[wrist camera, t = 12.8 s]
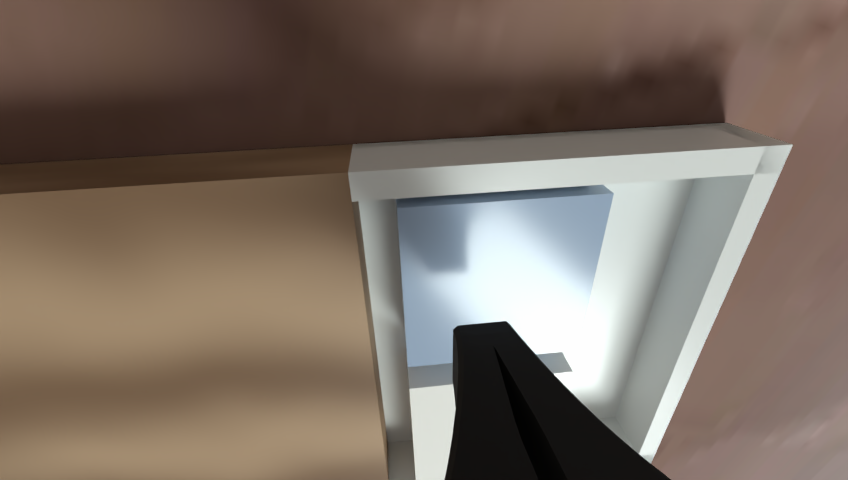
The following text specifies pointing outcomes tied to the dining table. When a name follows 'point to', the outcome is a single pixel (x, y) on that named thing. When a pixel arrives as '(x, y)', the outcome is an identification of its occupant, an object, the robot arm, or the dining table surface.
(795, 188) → the dining table surface
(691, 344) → the tray
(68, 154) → the dining table surface
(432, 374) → the tile white
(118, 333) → the board
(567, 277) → the tile blue
